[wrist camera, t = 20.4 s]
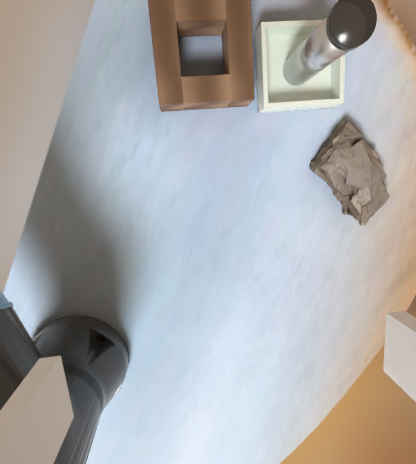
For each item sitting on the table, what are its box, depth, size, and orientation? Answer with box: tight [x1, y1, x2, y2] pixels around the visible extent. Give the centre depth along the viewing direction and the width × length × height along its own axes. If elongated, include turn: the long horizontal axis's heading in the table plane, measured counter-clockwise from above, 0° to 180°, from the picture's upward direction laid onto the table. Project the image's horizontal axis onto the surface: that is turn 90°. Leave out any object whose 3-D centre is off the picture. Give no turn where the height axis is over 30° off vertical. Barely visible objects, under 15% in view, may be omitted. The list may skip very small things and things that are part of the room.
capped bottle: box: [283, 0, 377, 86], centre depth 32 cm, size 4×4×13 cm
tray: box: [255, 20, 345, 113], centre depth 38 cm, size 11×10×3 cm
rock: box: [310, 120, 390, 226], centre depth 41 cm, size 14×9×4 cm
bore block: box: [148, 0, 255, 112], centre depth 36 cm, size 12×12×4 cm
